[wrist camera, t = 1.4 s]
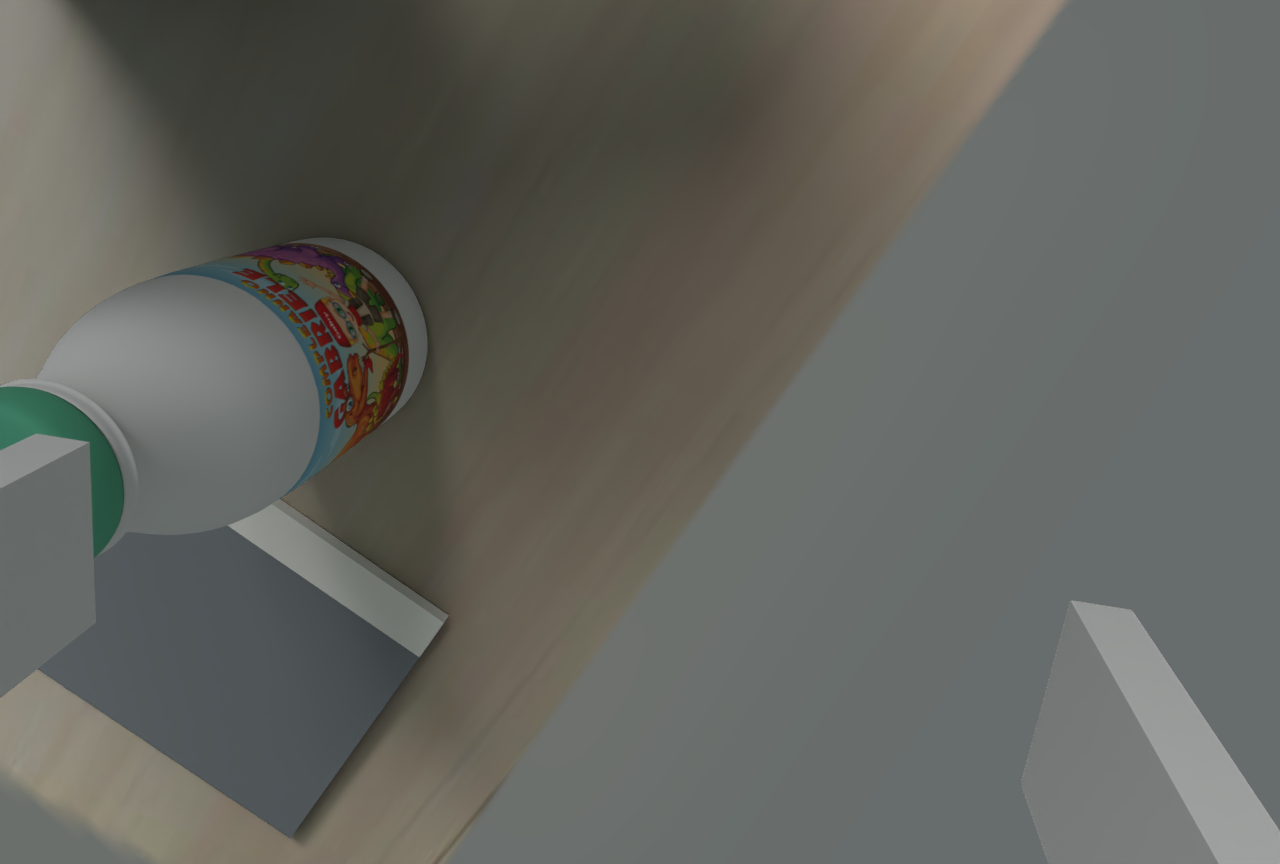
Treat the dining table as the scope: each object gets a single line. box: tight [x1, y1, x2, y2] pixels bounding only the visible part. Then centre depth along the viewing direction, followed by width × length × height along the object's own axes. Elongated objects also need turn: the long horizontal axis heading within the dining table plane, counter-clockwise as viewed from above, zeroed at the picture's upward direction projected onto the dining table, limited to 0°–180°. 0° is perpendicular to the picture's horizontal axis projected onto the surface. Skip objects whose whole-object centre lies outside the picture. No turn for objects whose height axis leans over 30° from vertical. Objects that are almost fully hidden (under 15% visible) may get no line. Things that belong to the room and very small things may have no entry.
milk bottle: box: [0, 237, 427, 558], centre depth 34 cm, size 8×8×20 cm
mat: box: [38, 499, 449, 838], centre depth 48 cm, size 18×14×1 cm
